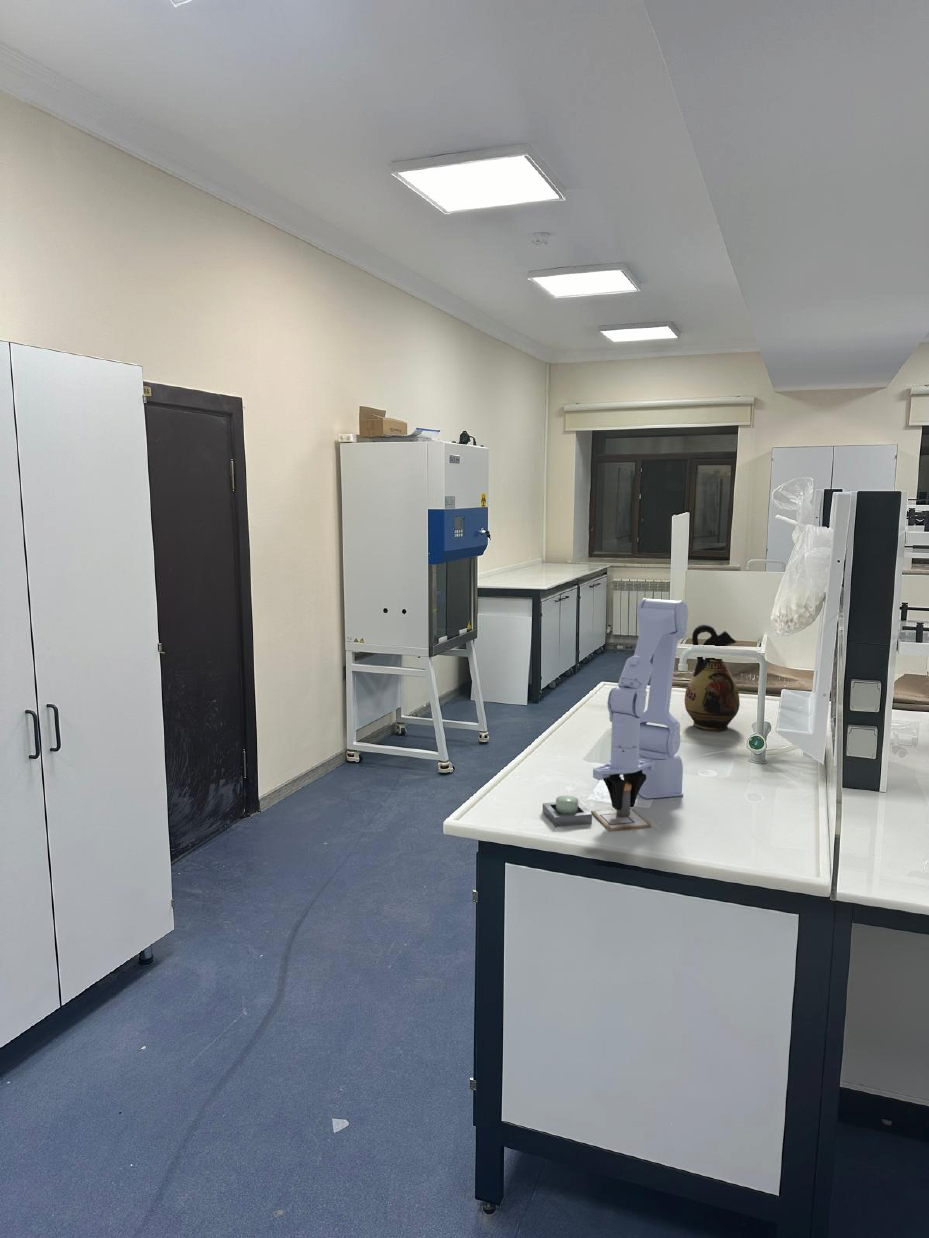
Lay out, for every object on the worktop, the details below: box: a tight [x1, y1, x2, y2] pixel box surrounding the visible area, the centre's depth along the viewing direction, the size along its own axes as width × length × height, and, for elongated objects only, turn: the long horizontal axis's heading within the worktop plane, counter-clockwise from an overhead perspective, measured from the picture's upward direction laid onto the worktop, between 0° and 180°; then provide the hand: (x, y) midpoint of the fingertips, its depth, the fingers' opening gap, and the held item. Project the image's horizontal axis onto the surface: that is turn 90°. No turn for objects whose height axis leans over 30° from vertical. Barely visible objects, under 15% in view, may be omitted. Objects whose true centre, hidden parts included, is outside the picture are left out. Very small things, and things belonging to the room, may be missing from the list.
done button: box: [555, 795, 579, 815], centre depth 170 cm, size 5×5×3 cm
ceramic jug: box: [684, 624, 741, 732], centre depth 237 cm, size 17×15×30 cm
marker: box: [616, 782, 632, 816], centre depth 170 cm, size 3×3×6 cm
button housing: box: [542, 800, 593, 828], centre depth 170 cm, size 8×8×2 cm
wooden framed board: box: [590, 807, 652, 832], centre depth 169 cm, size 9×10×1 cm
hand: (623, 807), depth 170 cm, fingers closed on marker, 3 cm apart
